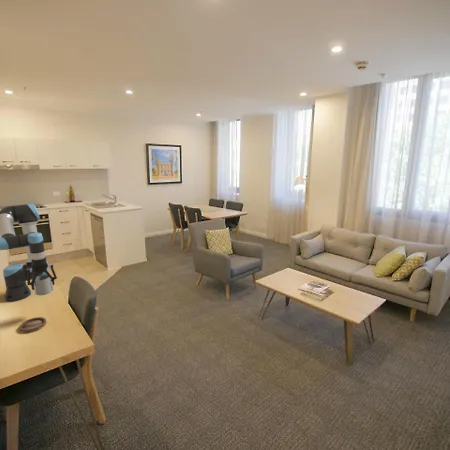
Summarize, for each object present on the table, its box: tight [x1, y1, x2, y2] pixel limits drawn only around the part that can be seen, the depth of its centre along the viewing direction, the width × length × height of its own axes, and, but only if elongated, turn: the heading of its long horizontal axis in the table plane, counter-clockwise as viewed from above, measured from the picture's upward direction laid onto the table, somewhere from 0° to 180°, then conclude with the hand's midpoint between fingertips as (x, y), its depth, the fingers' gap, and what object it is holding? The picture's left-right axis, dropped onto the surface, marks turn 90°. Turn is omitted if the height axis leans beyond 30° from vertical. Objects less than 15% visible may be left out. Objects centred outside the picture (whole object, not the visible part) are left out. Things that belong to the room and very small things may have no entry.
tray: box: [19, 316, 47, 334], centre depth 172 cm, size 13×13×2 cm
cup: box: [34, 275, 53, 296], centre depth 180 cm, size 8×8×10 cm
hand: (44, 291), depth 181 cm, fingers closed on cup, 8 cm apart
